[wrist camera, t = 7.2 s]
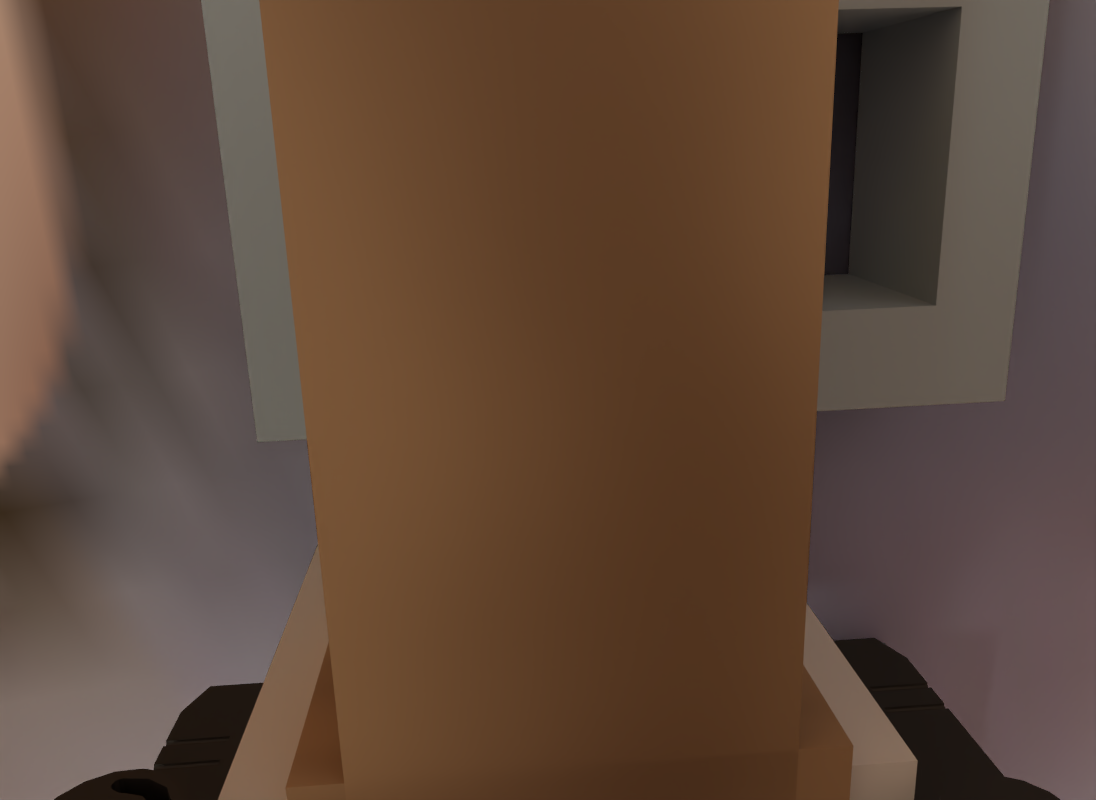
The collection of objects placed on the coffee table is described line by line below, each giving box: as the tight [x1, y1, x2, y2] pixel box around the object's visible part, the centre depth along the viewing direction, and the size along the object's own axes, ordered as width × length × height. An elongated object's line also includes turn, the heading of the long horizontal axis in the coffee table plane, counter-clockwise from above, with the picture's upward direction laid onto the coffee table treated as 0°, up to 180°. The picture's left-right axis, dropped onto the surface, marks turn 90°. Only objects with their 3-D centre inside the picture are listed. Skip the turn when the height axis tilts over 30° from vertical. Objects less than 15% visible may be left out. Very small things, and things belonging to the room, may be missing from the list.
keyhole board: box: [201, 0, 1050, 645], centre depth 16 cm, size 11×20×3 cm, turn 2°
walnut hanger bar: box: [259, 0, 853, 800], centre depth 12 cm, size 5×19×7 cm, turn 2°
